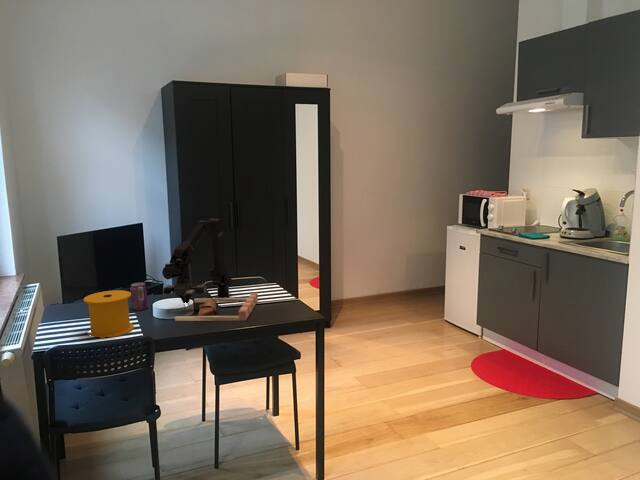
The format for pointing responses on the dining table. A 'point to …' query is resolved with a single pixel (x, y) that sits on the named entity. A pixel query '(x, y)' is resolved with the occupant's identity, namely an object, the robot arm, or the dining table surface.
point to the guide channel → (242, 316)
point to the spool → (109, 313)
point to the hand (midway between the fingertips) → (186, 307)
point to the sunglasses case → (208, 308)
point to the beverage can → (138, 296)
